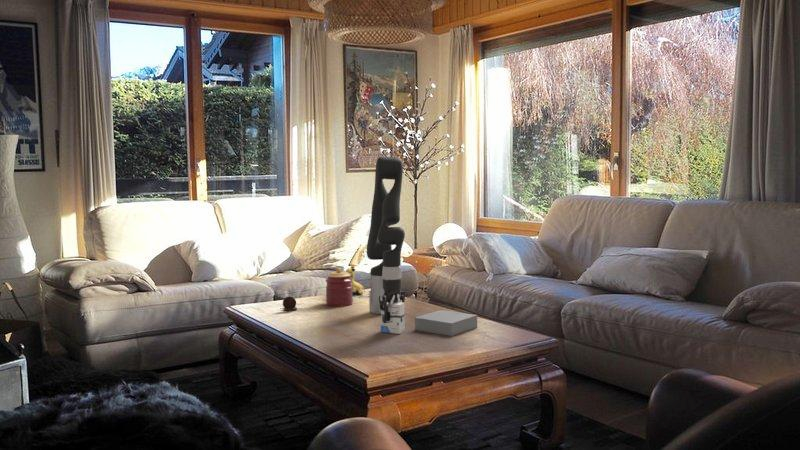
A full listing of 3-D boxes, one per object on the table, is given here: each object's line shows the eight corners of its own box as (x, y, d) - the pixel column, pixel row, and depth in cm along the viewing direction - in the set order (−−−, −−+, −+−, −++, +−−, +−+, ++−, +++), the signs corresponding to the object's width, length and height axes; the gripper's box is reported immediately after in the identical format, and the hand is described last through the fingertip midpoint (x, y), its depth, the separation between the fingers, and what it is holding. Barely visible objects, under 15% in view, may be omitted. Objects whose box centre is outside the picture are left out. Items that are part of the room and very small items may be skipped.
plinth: (415, 329, 280) (414, 317, 280) (441, 321, 294) (440, 309, 294) (452, 336, 269) (451, 323, 269) (477, 327, 283) (477, 315, 282)
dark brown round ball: (297, 308, 327) (297, 293, 326) (296, 312, 319) (295, 296, 318) (280, 309, 326) (279, 293, 325) (278, 312, 318) (278, 296, 318)
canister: (351, 306, 329) (351, 269, 327) (324, 307, 329) (323, 270, 327) (354, 301, 342) (353, 265, 340) (327, 301, 342) (326, 266, 340)
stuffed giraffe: (335, 294, 363) (336, 263, 361) (368, 292, 369) (369, 262, 368) (345, 300, 348) (346, 269, 346) (379, 298, 355) (379, 267, 353)
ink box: (380, 332, 276) (380, 303, 275) (385, 329, 281) (384, 300, 280) (400, 334, 273) (400, 304, 272) (405, 331, 278) (404, 302, 277)
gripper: (396, 274, 283) (396, 315, 285) (372, 278, 272) (373, 321, 273) (410, 275, 279) (411, 317, 280) (387, 280, 267) (388, 323, 269)
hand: (392, 319), depth 277 cm, fingers closed on ink box, 5 cm apart
